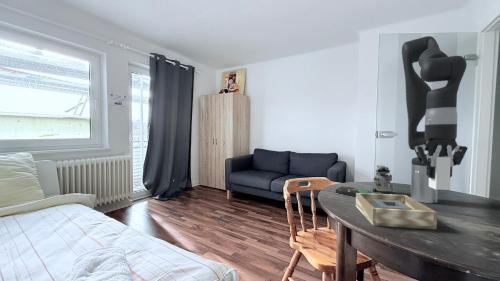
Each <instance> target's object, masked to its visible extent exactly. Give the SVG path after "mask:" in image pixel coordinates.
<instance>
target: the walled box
mask: <svg viewBox="0 0 500 281" xmlns="http://www.w3.org/2000/svg"><path fill="white" fill-rule="evenodd" d="M372 199H378V200H399V201H400V202H402V203H404V204H405V205H407V206H408V207H410V208H411V209H412V210H404V209H385V208H374V207H373V206H372ZM355 207H356V208H357V209H358V210H359V211H360V213H361V214H362V215H363V216H364V217H365V218H366V219H367V221H368V222H369V223H370V224H371V225H372V226H374V227H375V226H376V227H377V226H378V227H394V228H406V229H408V228H409V229H419V230H420V229H423V230H434V231H436V230H438V229H437V226H438V212H437V210H434V209H432V208H431V207H428V206H426V205H424V204H423V203H422V202H418V201H416V200H414V199H412V198H411V196H408V195H407V194H393V193H392V194H389V193H387V194H386V193H371V194H368V193H356V197H355Z"/></svg>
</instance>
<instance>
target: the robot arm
mask: <svg viewBox="0 0 500 281" xmlns="http://www.w3.org/2000/svg"><path fill="white" fill-rule="evenodd" d="M401 57H402V64H403V71H404V79H405V80H404V82H405V103H406V111H407V112H406V113H407V124H408V126H407V127H408V128H407V132H408V133H407V145H408V147H409V149H410V150H411V151H414V152H415V154H416V157H413V158H412V159H411V171H410V172H411V173H410V198H412V199H414V200H416V201H418V202H419V203H425V204H434V203H438V197H439V196H438V192H439V191H438V190H436V189H434V188H431V187H429V178H431V179H434V178H435V167H434V166H435V163H436V159H437V157H438V156H441V155H442V156H446V157H451V159H450V178H451V177H452V176H453V167H454V166H460V165H461V164H462V161H463V159H464V157H465V155H466V153H467V151H468V148H469V147H468V146H465V145H459V144H458V143H457V141H456V139H457V138H458V109H457V108H458V107H457V106H458V104H457V103H458V102H457V101H458V100H457V99H458V93H459V92H458V91H459V88H460V84H461V81H462V79H463V77H464V75H465V72H466V70H467V60H466V59H465V57H463V56H462V55H452V56H451V55H450V56H449V55H448V54H447V53H445V52H443V50H441V49H440V46H439V44H438V42H437V40H436V39H435V37H434V36H432V35H426V36H423V37H419V38H415V39H411V40H409V41H406V42H403V44H402V46H401ZM414 63H418V65H419V67H420V70H419V72H420V73H419V74H417V72H416V70H415V68H414V66H413V64H414ZM443 81H444V82H446V85H444V87H440V88H434V89H432V88H431V86H429V84H428V83H436V82H437V83H438V82H443ZM423 118H424V131H421V130H419V131H418V130H417V129H418V126H419V124H420V122H421V121H422V120H423ZM453 151H454V153H453ZM425 152H426V153H425Z"/></svg>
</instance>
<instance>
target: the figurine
mask: <svg viewBox="0 0 500 281" xmlns="http://www.w3.org/2000/svg"><path fill="white" fill-rule="evenodd" d="M390 172H391V170H390V168H389V167H388V166H386V165H382V164H381V165H380V164H379V165H376V168H375V176H373V182H372V192H376V191H377V190H381V191H388V190H389V191H388V194H392V195H393V193H394V189H393V183H391V182H392V181H393V178H392V177H393V174H391V173H390Z"/></svg>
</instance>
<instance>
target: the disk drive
mask: <svg viewBox="0 0 500 281" xmlns="http://www.w3.org/2000/svg"><path fill="white" fill-rule="evenodd" d="M336 193H339V194H338V195H340V194H343V195H342V196H346V195H347V197H351V196H352V197H351V198H356V193H368V194H372V192H371V190H367V189H363V188H362V189H361V188H356V187H355V188H354V187H348V186H343V185H342V186H340V187H337V188H336V189H335V194H336Z"/></svg>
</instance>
